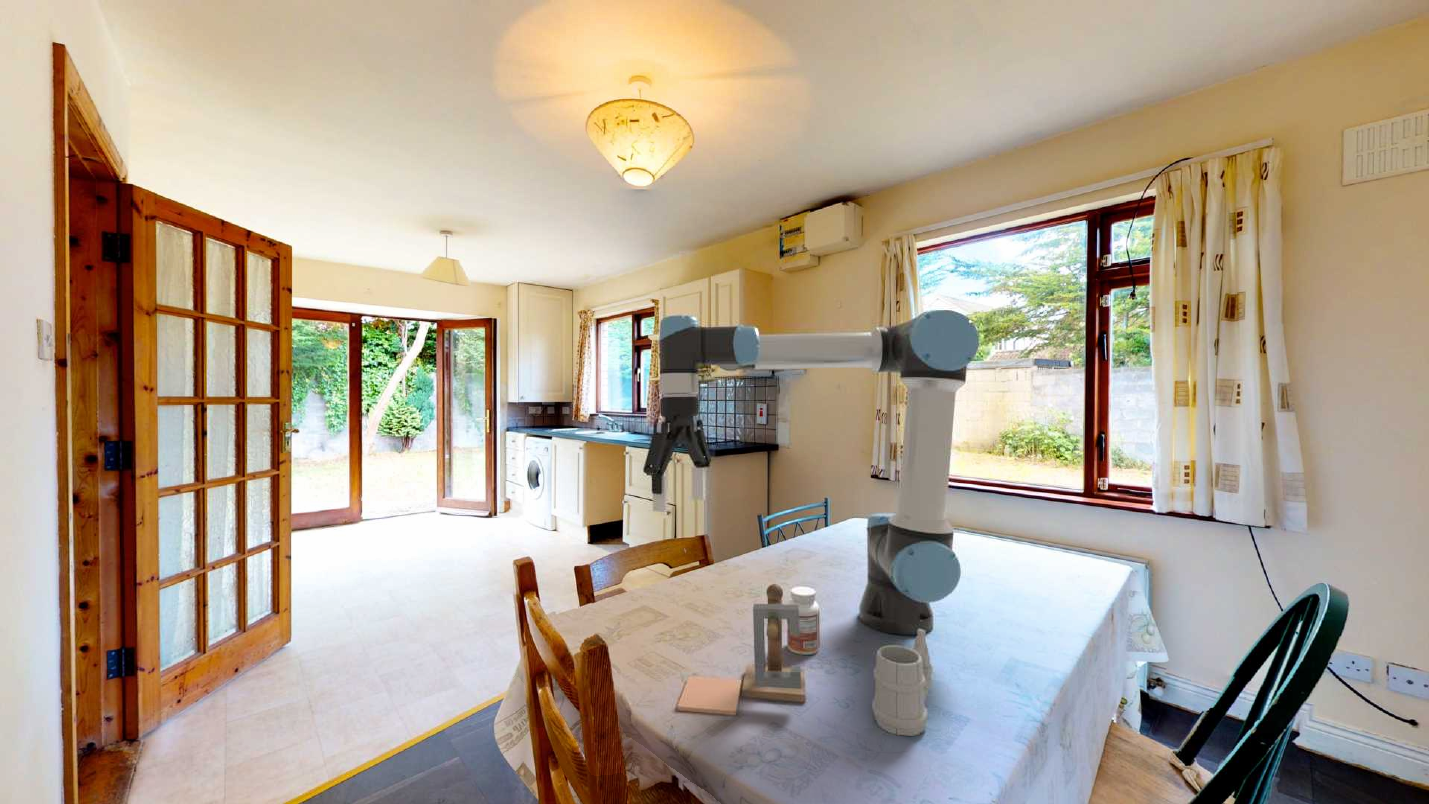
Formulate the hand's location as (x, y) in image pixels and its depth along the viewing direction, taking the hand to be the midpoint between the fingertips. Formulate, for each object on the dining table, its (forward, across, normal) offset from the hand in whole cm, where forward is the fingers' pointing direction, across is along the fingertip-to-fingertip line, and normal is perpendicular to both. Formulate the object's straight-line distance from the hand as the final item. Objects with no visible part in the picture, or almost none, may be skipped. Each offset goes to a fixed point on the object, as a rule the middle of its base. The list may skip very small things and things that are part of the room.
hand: (680, 505), depth 102 cm
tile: (+27, +13, +14) cm, 33 cm away
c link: (+24, +10, +24) cm, 36 cm away
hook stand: (+27, +9, +23) cm, 37 cm away
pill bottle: (+28, -10, +21) cm, 36 cm away
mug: (+28, +3, +42) cm, 51 cm away
